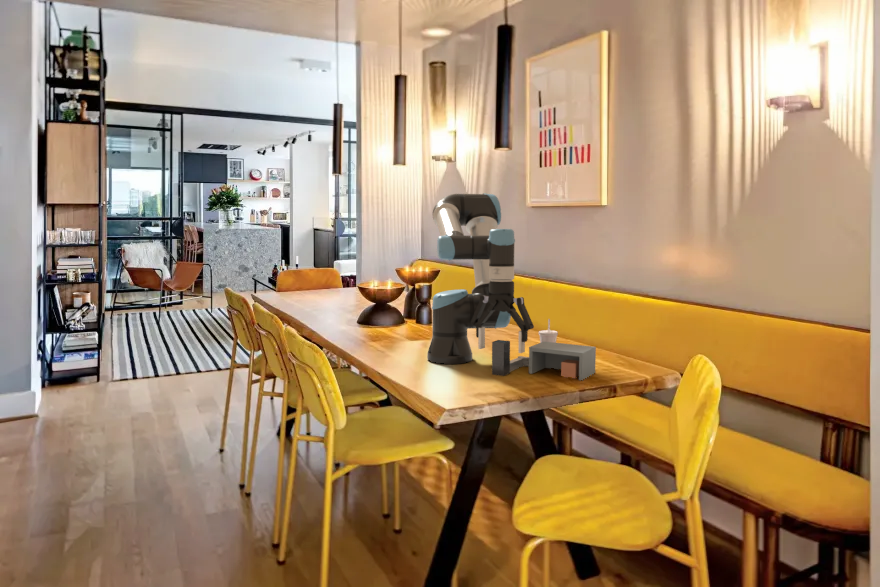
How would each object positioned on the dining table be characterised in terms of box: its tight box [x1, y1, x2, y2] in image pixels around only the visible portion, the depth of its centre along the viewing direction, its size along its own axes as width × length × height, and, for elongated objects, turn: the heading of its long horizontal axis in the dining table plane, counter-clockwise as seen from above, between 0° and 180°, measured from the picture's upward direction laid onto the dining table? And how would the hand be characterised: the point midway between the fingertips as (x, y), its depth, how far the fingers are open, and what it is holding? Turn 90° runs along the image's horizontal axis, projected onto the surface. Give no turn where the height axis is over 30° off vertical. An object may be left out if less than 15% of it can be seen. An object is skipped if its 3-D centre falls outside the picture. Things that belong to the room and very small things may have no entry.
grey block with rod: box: [491, 339, 529, 377], centre depth 203 cm, size 8×17×10 cm, turn 147°
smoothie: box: [538, 318, 559, 343], centre depth 218 cm, size 6×6×14 cm
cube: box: [560, 359, 579, 379], centre depth 196 cm, size 4×4×4 cm
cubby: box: [528, 342, 597, 381], centre depth 199 cm, size 17×11×8 cm, turn 57°
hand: (501, 350), depth 198 cm, fingers open, 13 cm apart
